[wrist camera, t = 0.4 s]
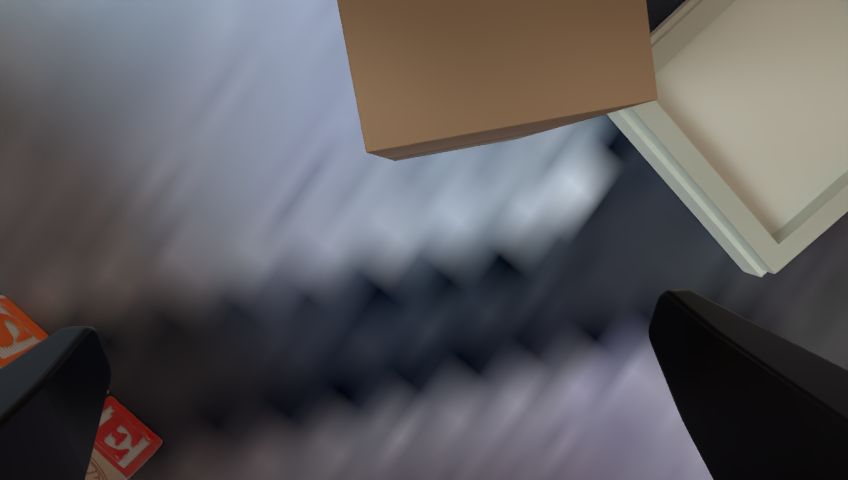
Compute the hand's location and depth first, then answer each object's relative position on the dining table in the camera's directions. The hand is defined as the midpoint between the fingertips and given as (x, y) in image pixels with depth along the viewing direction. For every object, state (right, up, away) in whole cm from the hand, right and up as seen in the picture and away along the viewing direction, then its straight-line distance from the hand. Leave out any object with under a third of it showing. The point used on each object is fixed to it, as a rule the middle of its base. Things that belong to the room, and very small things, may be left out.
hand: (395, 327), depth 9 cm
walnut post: (+1, +7, +13) cm, 15 cm away
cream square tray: (+14, +7, +13) cm, 21 cm away
